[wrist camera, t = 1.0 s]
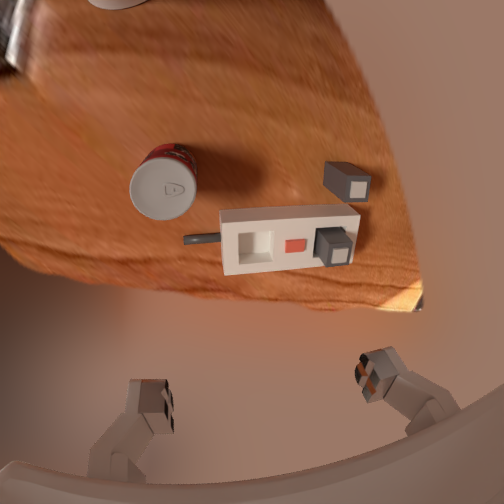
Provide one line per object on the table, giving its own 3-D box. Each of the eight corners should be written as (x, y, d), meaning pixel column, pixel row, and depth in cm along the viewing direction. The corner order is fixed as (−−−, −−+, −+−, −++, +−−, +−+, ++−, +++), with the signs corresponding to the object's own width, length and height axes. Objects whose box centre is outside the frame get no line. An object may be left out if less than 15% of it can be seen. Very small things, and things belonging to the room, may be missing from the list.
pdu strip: (181, 213, 46) (178, 241, 38) (347, 203, 50) (374, 227, 42) (187, 261, 50) (186, 296, 42) (340, 248, 54) (363, 277, 46)
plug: (325, 161, 45) (348, 176, 38) (346, 162, 46) (372, 176, 39) (323, 184, 47) (345, 203, 40) (344, 184, 48) (368, 202, 41)
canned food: (203, 183, 44) (204, 210, 35) (153, 198, 44) (142, 229, 34) (189, 135, 40) (186, 148, 31) (138, 152, 40) (119, 171, 30)
